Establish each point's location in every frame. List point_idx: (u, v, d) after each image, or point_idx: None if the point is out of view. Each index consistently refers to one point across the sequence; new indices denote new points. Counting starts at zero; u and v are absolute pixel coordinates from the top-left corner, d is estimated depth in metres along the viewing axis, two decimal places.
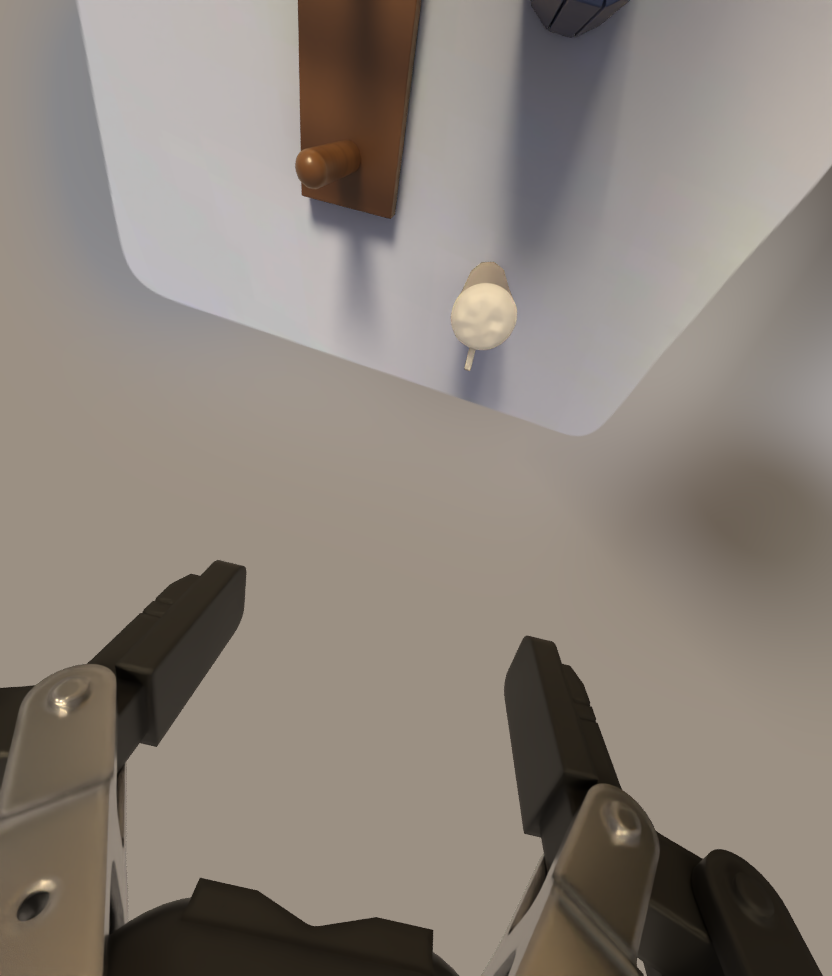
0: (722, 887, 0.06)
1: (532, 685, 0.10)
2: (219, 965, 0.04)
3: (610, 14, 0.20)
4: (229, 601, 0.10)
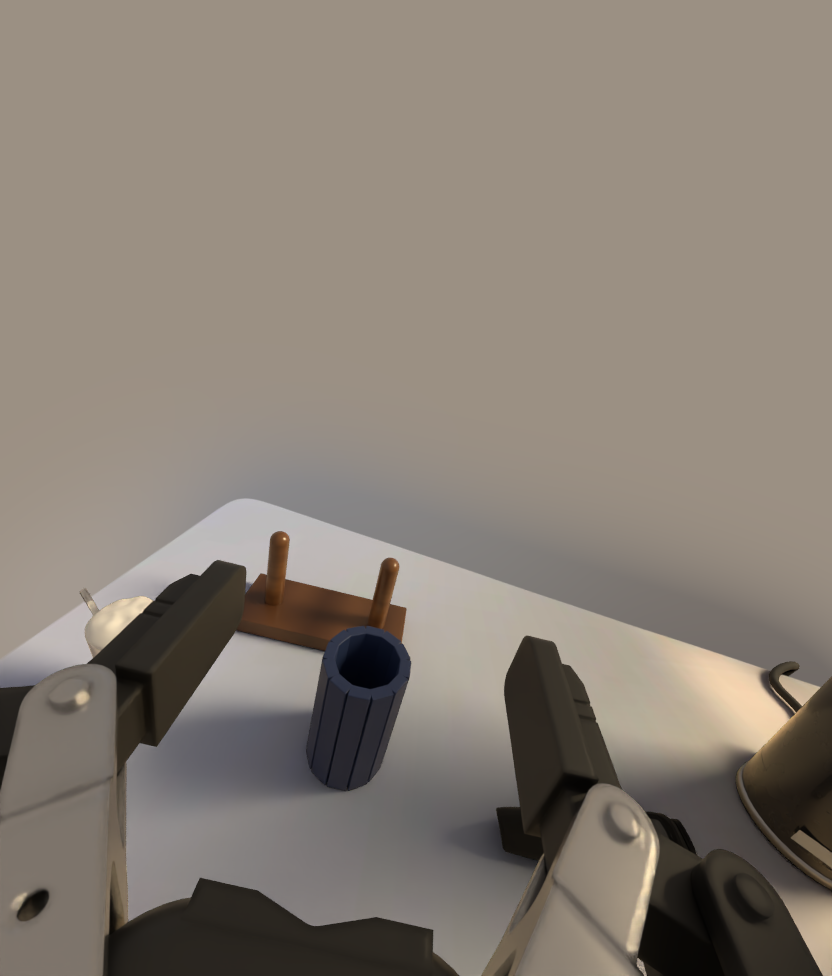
0: (722, 887, 0.06)
1: (532, 685, 0.10)
2: (219, 965, 0.04)
3: (316, 725, 0.27)
4: (229, 601, 0.10)
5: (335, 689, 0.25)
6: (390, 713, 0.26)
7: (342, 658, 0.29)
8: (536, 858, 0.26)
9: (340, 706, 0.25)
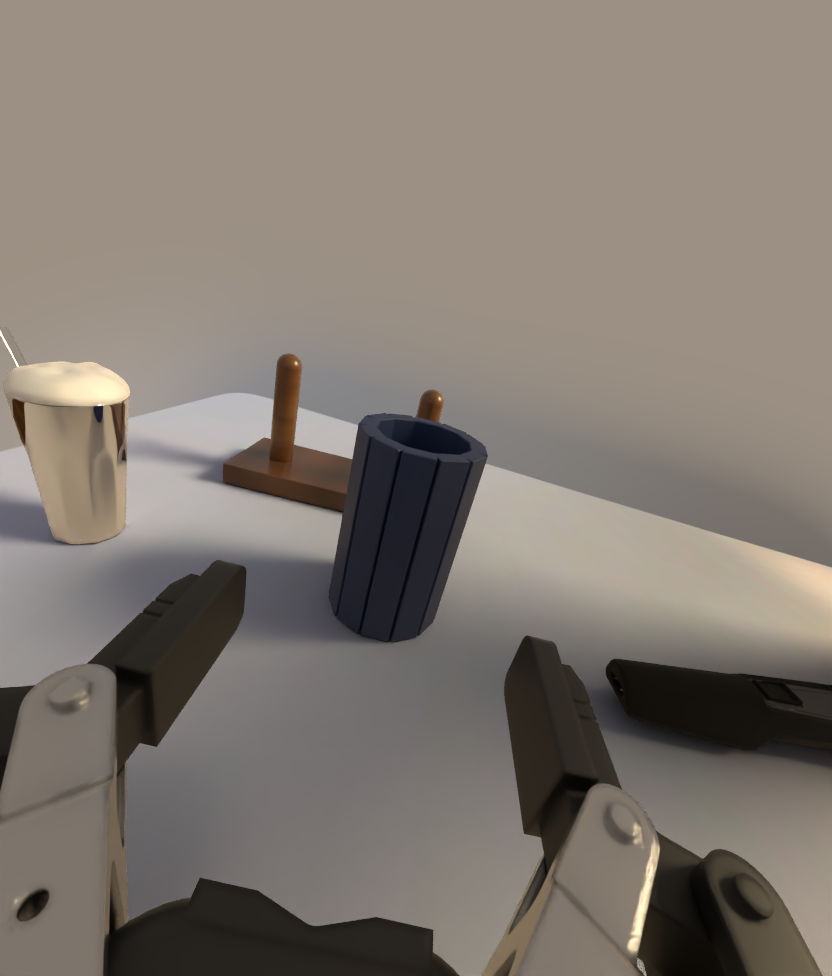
0: (722, 887, 0.06)
1: (532, 685, 0.10)
2: (219, 965, 0.04)
3: (347, 538, 0.19)
4: (229, 601, 0.10)
5: (381, 450, 0.16)
6: (460, 505, 0.17)
7: None
8: (677, 726, 0.18)
9: (388, 479, 0.16)
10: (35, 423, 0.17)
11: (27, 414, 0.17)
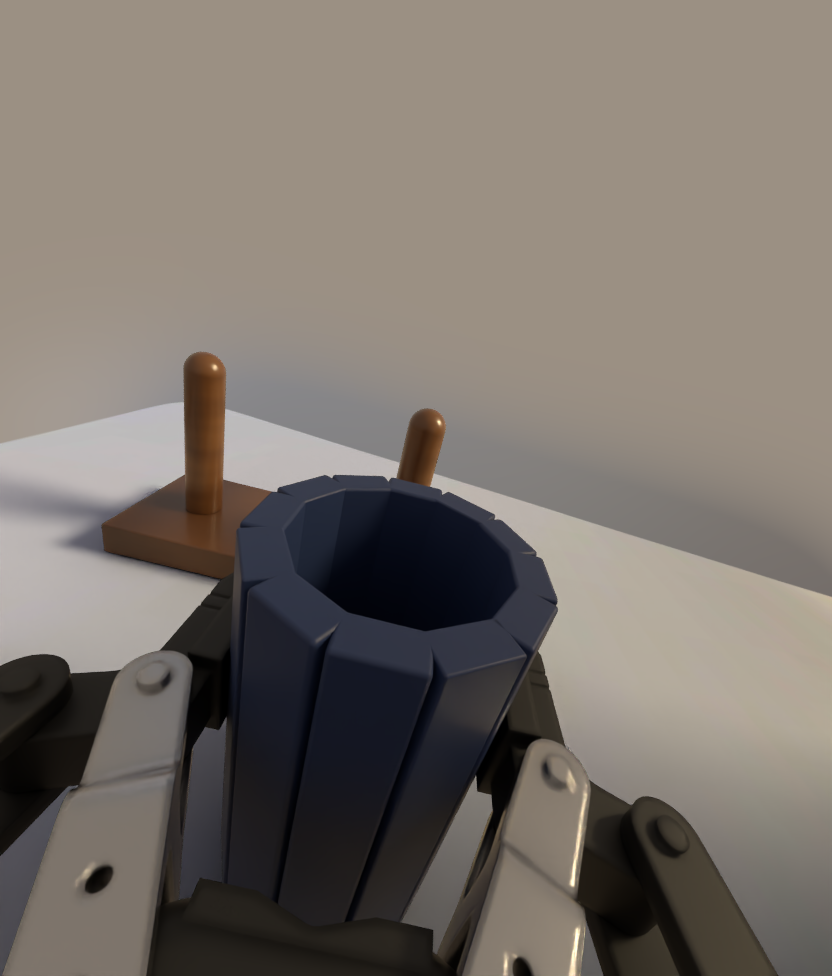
0: (645, 828, 0.07)
1: None
2: (219, 965, 0.04)
3: (228, 771, 0.08)
4: None
5: (272, 629, 0.06)
6: (493, 734, 0.07)
7: (320, 562, 0.10)
8: None
9: (295, 706, 0.06)
10: None
11: None
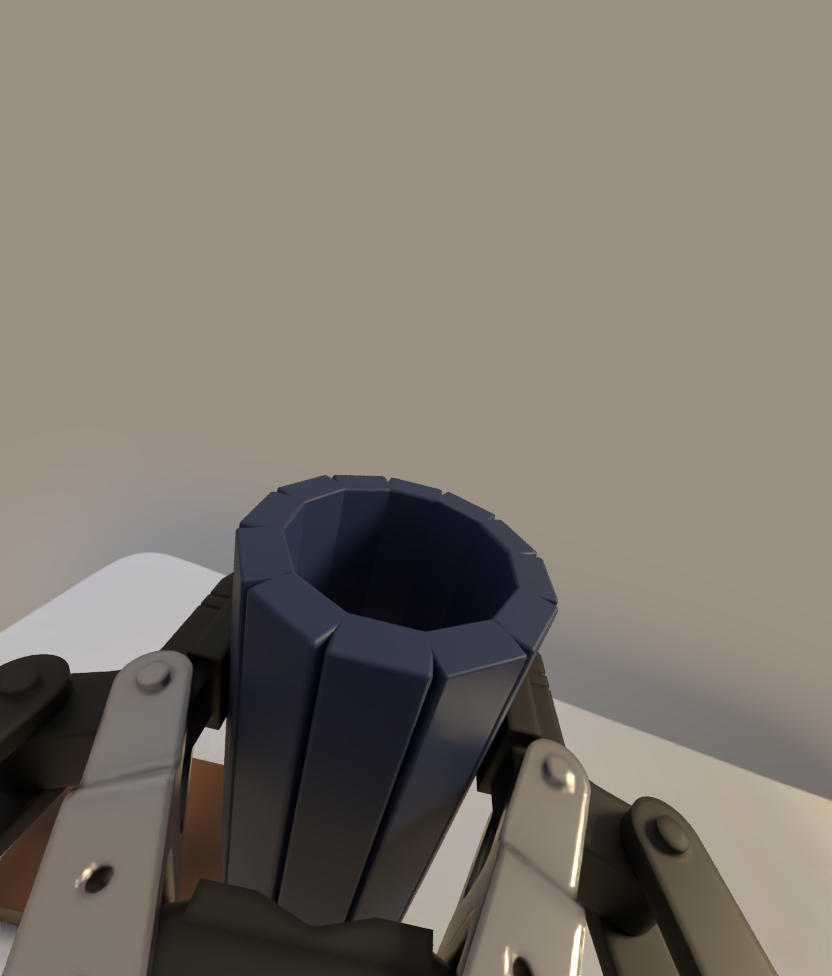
0: (645, 827, 0.07)
1: None
2: (219, 965, 0.04)
3: (227, 771, 0.08)
4: None
5: (271, 630, 0.06)
6: (493, 734, 0.07)
7: (320, 562, 0.10)
8: None
9: (295, 706, 0.06)
10: None
11: None
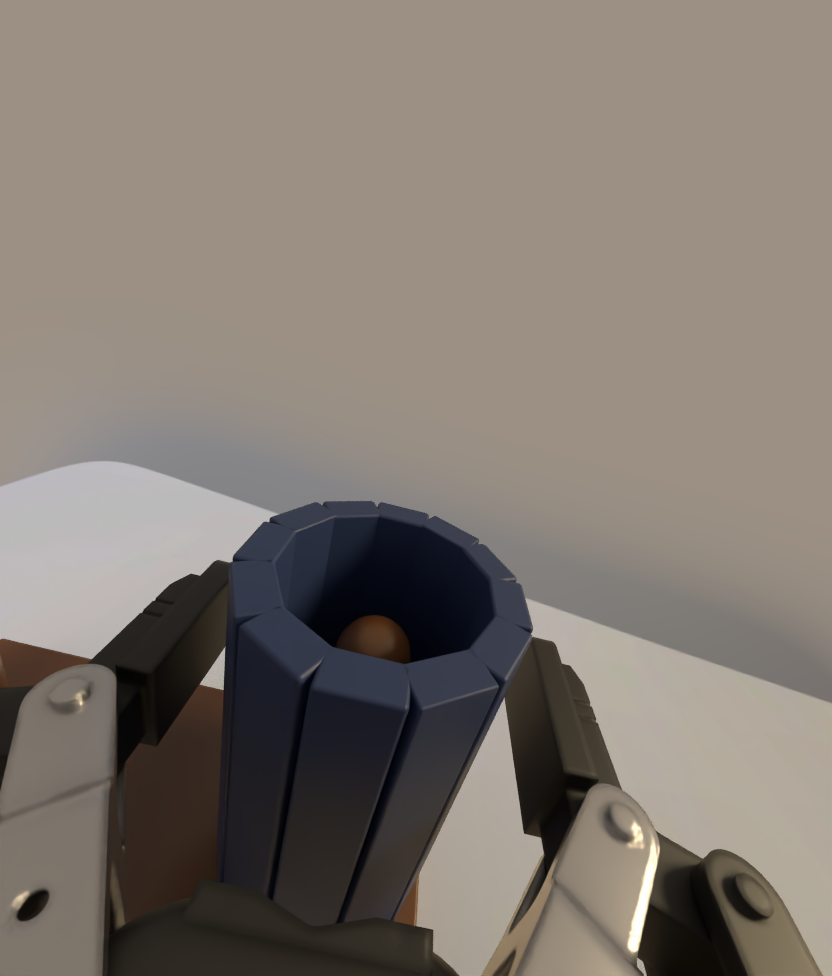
0: (722, 887, 0.06)
1: (532, 685, 0.10)
2: (219, 965, 0.04)
3: (222, 788, 0.09)
4: None
5: (261, 664, 0.06)
6: (471, 755, 0.07)
7: (311, 585, 0.10)
8: None
9: (283, 734, 0.06)
10: None
11: None
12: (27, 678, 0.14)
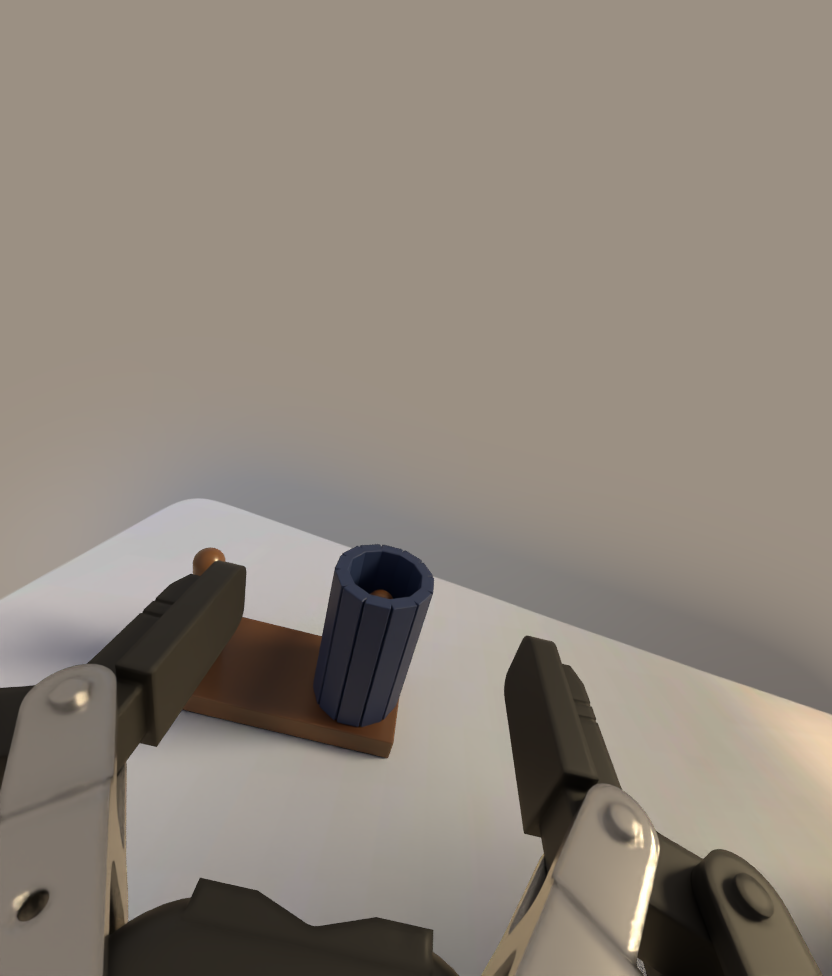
0: (722, 887, 0.06)
1: (532, 685, 0.10)
2: (219, 965, 0.04)
3: (326, 650, 0.24)
4: (229, 601, 0.10)
5: (350, 598, 0.21)
6: (411, 631, 0.23)
7: (355, 578, 0.26)
8: None
9: (355, 618, 0.22)
10: None
11: None
12: None
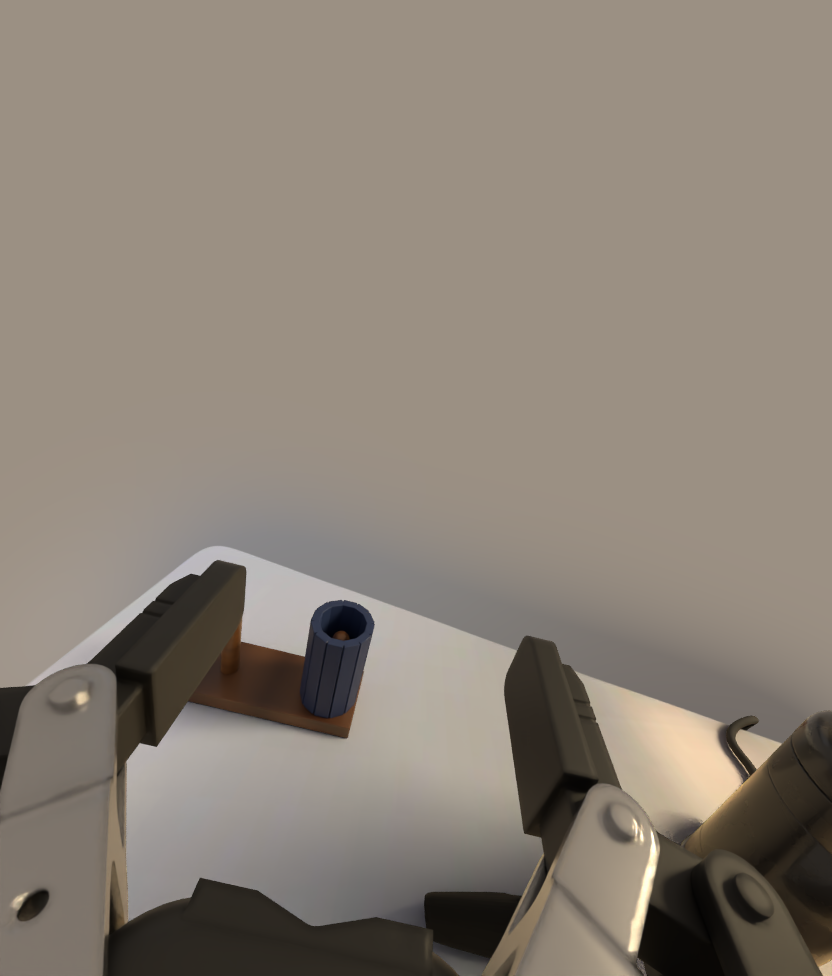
0: (722, 887, 0.06)
1: (532, 685, 0.10)
2: (219, 965, 0.04)
3: (306, 670, 0.38)
4: (229, 601, 0.10)
5: (319, 640, 0.36)
6: (358, 659, 0.37)
7: (326, 623, 0.40)
8: (459, 948, 0.27)
9: (322, 652, 0.36)
10: None
11: None
12: None
